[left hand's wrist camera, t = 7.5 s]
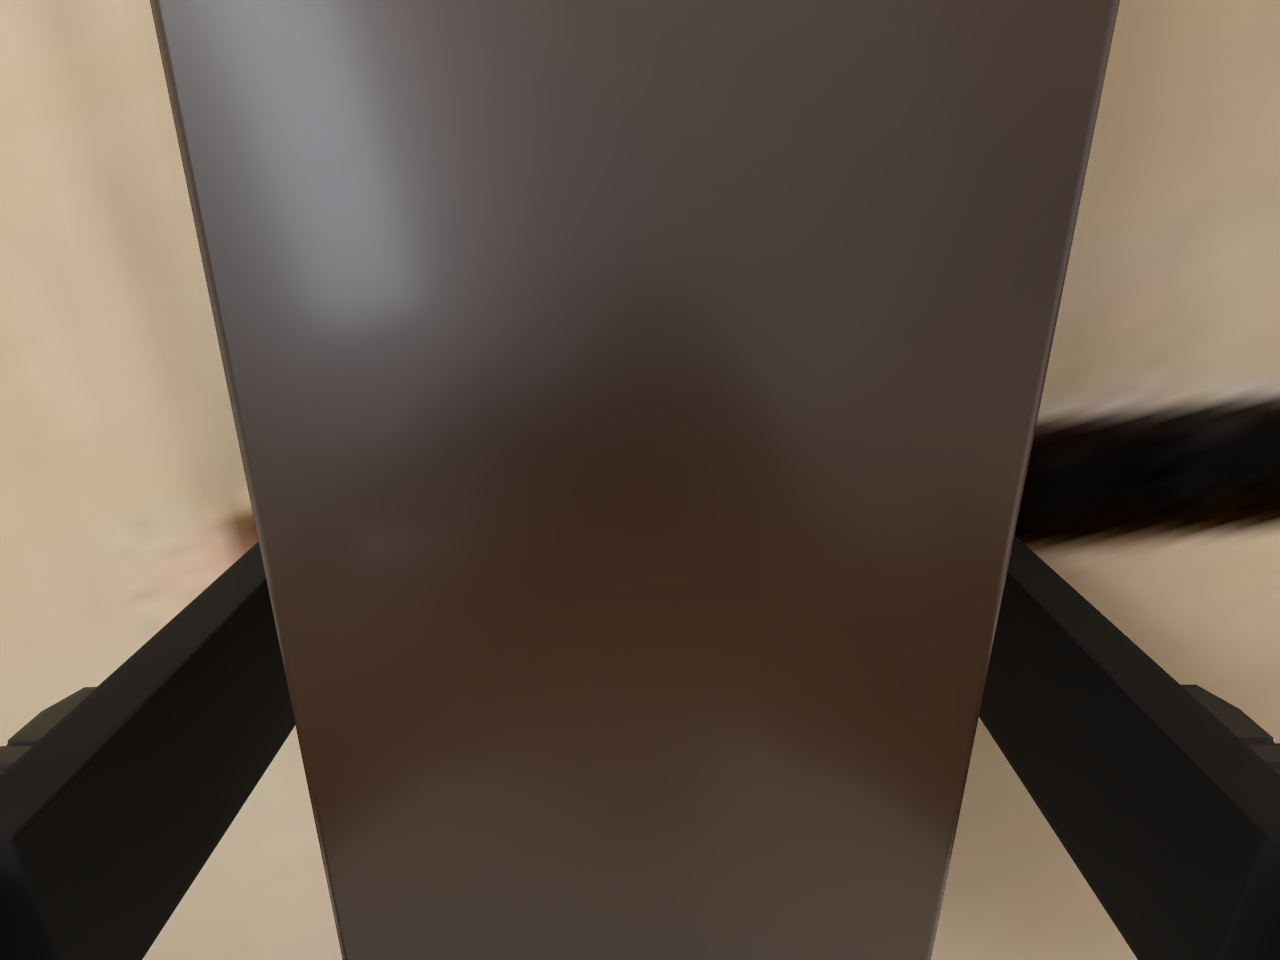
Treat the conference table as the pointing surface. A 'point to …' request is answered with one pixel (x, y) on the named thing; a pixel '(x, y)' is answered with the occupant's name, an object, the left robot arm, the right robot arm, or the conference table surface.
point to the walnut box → (635, 440)
